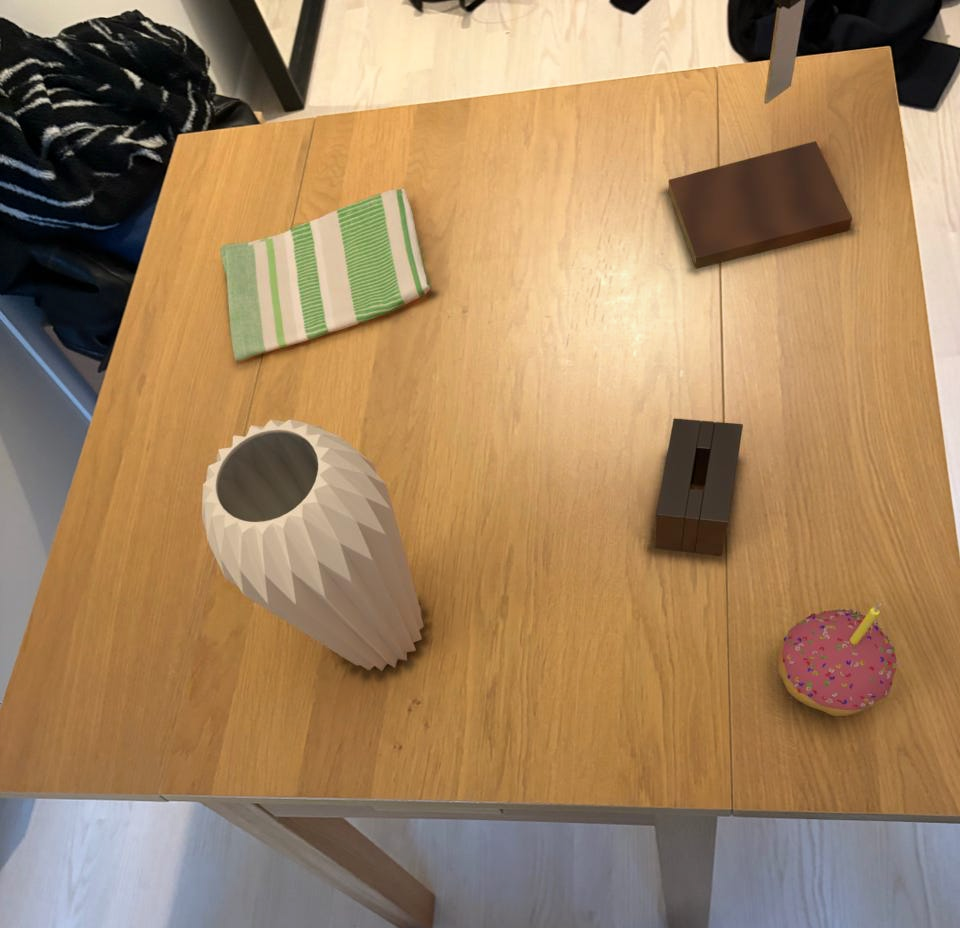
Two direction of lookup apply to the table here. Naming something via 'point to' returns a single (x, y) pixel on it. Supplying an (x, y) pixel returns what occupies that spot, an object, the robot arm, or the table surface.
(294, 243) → the dish towel
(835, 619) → the cupcake
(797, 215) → the cutting board
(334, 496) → the vase
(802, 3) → the knife
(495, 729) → the table surface
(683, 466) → the knife block
